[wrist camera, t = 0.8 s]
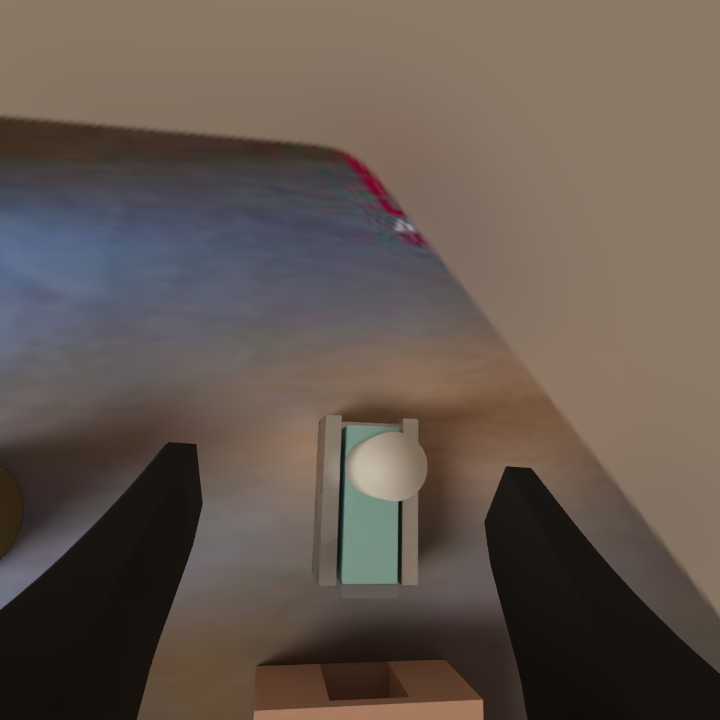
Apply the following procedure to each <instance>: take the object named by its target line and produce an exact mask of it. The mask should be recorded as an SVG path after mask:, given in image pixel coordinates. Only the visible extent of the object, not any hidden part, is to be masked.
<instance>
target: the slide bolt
mask: <svg viewBox="0 0 720 720" xmlns="http://www.w3.org/2000/svg"><path fill="white" fill-rule="evenodd" d="M427 469H428V466H427V458H426V455H425V452H424V450H423V449H422V447H421V445H420V444H419V443H418V442H417V441H416V440H415V439H414V438H412V437H411V436H409V435H407V434H405V433H401V432H399V427H379V426H357V425H348V426H346V427H344V428H342V429H341V454H340V481H339V509H338V537H337V565H336V586H334V587H335V588H336V590H337V592H338V593H339V595H340V597H341V598H342V599H364V598H398V594H399V584H398V583H397V567H398V501H402V500H406V499H408V498H410V497H412V496H413V495H415V494H416V493H417V492H418V491H419V490H420V488H421V487H422V485H423V484H424V482H425V479H426V476H427Z"/></svg>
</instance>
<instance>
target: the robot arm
mask: <svg viewBox="0 0 720 720" xmlns="http://www.w3.org/2000/svg"><path fill="white" fill-rule="evenodd" d="M202 504H203V503H202V493H201V484H200V475H199V466H198V457H197V447H196V444H187V443H173V442H168V443H167V444H166V445H164V447H163V448H162V449H161V450H160V451H159V453H158V454H157V455H156V456H155V458H154V459H153V460H152V461H151V462H150V464H149V465H148V466H147V467H146V468H145V470H144V471H143V472H142V473H141V474H140V475H139V477H138V478H137V479H136V480H135V481H134V482H133V483H132V484H131V486H130V487H129V488H128V489H127V490H126V491H125V492H124V493H123V495H122V496H121V497H120V498H119V499H118V500H117V501H116V502H115V503H114V504H113V505H112V506H111V508H110V509H109V510H108V511H107V512H106V513H105V514H104V515H103V516H102V517H101V518H100V519H99V520H98V521H97V522H96V523H95V524H94V525H93V526H92V527H91V528H90V529H89V530H88V531H87V532H86V533H85V534H84V535H83V536H82V537H81V538H80V539H79V540H78V541H77V542H76V543H75V544H74V545H73V546H72V547H71V548H70V549H69V550H68V551H67V552H66V553H65V554H64V555H63V556H62V557H61V558H60V559H59V560H57V561H56V562H55V563H54V564H53V565H52V566H51V567H50V568H49V569H48V570H47V571H45V572H44V573H43V574H42V575H41V576H40V577H39V578H38V579H36V580H35V581H34V582H33V583H32V584H31V585H29V586H28V587H27V588H26V589H25V590H24V591H22V592H21V593H20V594H19V595H18V596H17V597H15V598H14V599H13V600H12V601H10V602H9V603H8V604H7V605H6V606H4V607H3V608H2V609H1V610H0V720H137V716H138V712H139V709H140V705H141V701H142V697H143V693H144V690H145V686H146V682H147V678H148V674H149V671H150V667H151V664H152V660H153V657H154V654H155V651H156V648H157V645H158V642H159V639H160V636H161V633H162V631H163V628H164V625H165V622H166V620H167V617H168V614H169V611H170V608H171V606H172V603H173V600H174V597H175V595H176V592H177V589H178V586H179V583H180V581H181V578H182V575H183V572H184V569H185V567H186V564H187V561H188V558H189V555H190V552H191V549H192V547H193V542H194V538H195V534H196V530H197V526H198V522H199V517H200V513H201V508H202ZM485 529H486V537H487V545H488V551H489V558H490V564H491V568H492V572H493V576H494V580H495V583H496V587H497V591H498V595H499V599H500V602H501V606H502V610H503V613H504V617H505V621H506V625H507V628H508V632H509V636H510V639H511V643H512V647H513V650H514V654H515V658H516V662H517V666H518V670H519V675H520V679H521V684H522V690H523V695H524V701H525V707H526V713H527V718H528V720H720V674H719V673H718V672H717V671H716V670H715V669H714V668H713V667H711V666H710V665H709V664H708V663H707V662H706V661H705V660H703V659H702V658H701V657H700V656H699V655H698V654H697V653H695V652H694V651H693V650H692V649H691V648H690V647H689V646H688V645H687V644H686V643H685V642H684V641H682V640H681V639H680V638H679V637H678V636H677V635H676V634H675V633H674V632H673V631H672V630H671V629H670V628H669V627H668V626H667V625H666V624H665V623H664V622H663V621H662V620H661V619H660V618H659V617H658V616H657V615H656V614H655V613H654V612H653V611H652V610H651V609H650V608H649V607H648V606H647V605H646V604H645V603H644V602H643V601H642V600H641V599H640V598H639V597H638V596H637V595H636V594H635V593H634V592H633V591H632V590H631V589H630V588H629V586H628V585H627V584H626V583H625V582H624V581H623V580H622V579H621V578H620V577H619V575H618V574H617V573H616V572H615V571H614V570H613V569H612V568H611V567H610V565H609V564H608V563H607V562H606V561H605V560H604V559H603V557H602V556H601V555H600V554H599V553H598V552H597V550H596V549H595V548H594V547H593V545H592V544H591V543H590V542H589V541H588V539H587V538H586V537H585V536H584V535H583V533H582V532H581V531H580V530H579V529H578V527H577V526H576V525H575V524H574V522H573V521H572V520H571V519H570V517H569V516H568V515H567V513H566V512H565V511H564V510H563V508H562V507H561V506H560V504H559V503H558V502H557V501H556V499H555V498H554V497H553V495H552V494H551V493H550V492H549V490H548V489H547V488H546V486H545V485H544V484H543V483H542V481H541V480H540V479H539V477H538V476H537V475H536V474H535V472H534V471H533V470H532V469H531V468H522V467H508V466H506V468H505V470H504V473H503V475H502V478H501V480H500V483H499V486H498V488H497V491H496V493H495V496H494V498H493V501H492V504H491V506H490V509H489V511H488V514H487V516H486V519H485Z"/></svg>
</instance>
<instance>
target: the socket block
mask: <svg viewBox="0 0 720 720" xmlns="http://www.w3.org/2000/svg"><path fill="white" fill-rule="evenodd" d="M253 720H483V699H482V698H481V697H480V696H479V695H478V694H477V693H476V692H475V691H474V690H473V689H472V688H471V686H470V685H469V684H468V683H467V682H466V681H465V680H464V679H463V678H462V677H461V676H460V675H459V674H458V673H457V672H456V671H455V670H454V669H453V668H452V666H451V665H450V664H449V663H448V662H447V661H446V660H445V659H444V660H415V661H386V662H357V663H328V664H299V665H270V666H257V667H256V682H255V697H254V712H253Z"/></svg>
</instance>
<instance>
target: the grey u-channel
mask: <svg viewBox="0 0 720 720" xmlns="http://www.w3.org/2000/svg"><path fill="white" fill-rule="evenodd" d="M348 425H357V426H379V427H399V432H401V433H405V434H407V435H409V436H411V437H412V438H414V439H415V440H416V441H417V442H418V419H405V418H403V419H401V420H398V421H395V422H393V423H390V424H385V423H363V422H342V415H325V416H324V417H323V418H322V419H321V420H320V421H319V432H318V454H317V476H316V497H315V519H314V541H313V563H312V572H313V574H314V576H315V579H316V581H317V583H318V585H319V586H336V565H337V537H338V509H339V481H340V454H341V429H342V428H344V427H346V426H348ZM397 581H398V582H399V583H400V584H401V585H418V492H417V493H416V494H415V495H413V496H412V497H410V498H408V499H406V500H402V501H398V567H397Z"/></svg>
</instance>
